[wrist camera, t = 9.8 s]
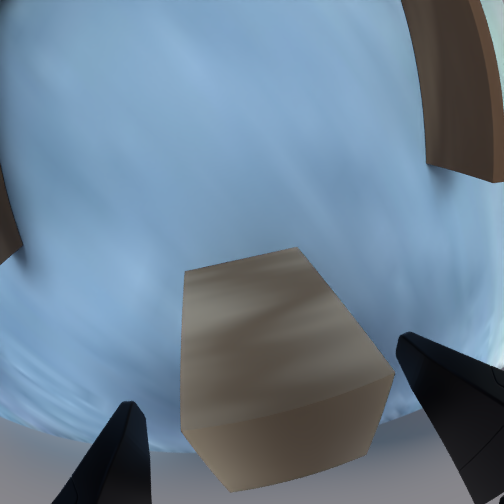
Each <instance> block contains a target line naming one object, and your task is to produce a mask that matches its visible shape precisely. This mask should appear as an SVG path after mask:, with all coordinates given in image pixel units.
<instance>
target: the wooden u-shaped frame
mask: <svg viewBox="0 0 504 504" xmlns="http://www.w3.org/2000/svg"><path fill="white" fill-rule="evenodd" d="M401 1H402V5H403V8H404V11H405V15H406V18H407V22H408V26H409V30H410V34H411V38H412V43H413V47H414V52H415V57H416V63H417V68H418V74H419V80H420V87H421V95H422V103H423V113H424V124H425V139H426V163H427V164H430V165H434V166H438V167H442V168H446V169H449V170H453V171H456V172H460V173H463V174H466V175H470V176H473V177H476V178H479V179H482V180H485V181H488V182H491V183H498V182H504V109H503V99H502V91H501V83H500V77H499V71H498V65H497V60H496V55H495V51H494V47H493V42H492V38H491V35H490V31H489V27H488V24H487V20H486V17H485V14H484V11H483V8H482V5H481V2H480V0H401ZM22 246H23V243H22V241H21V238H20V235H19V232H18V229H17V226H16V223H15V220H14V217H13V213H12V210H11V207H10V203H9V199H8V196H7V192H6V188H5V184H4V179H3V175H2V170H1V165H0V265H1V264H2V263H3V262H4V261H5V260H6V259H8V258H9V257H10V256H11V255H12V254H13V253H15V252H16V251H17V250H18V249H19V248H21V247H22Z"/></svg>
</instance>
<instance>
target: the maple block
mask: <svg viewBox="0 0 504 504" xmlns="http://www.w3.org/2000/svg"><path fill="white" fill-rule="evenodd" d="M394 375H395V371H394V370H393V369H392V367H391V366H390V365H389V363H388V362H387V360H386V359H385V358H384V356H383V355H382V354H381V352H380V351H379V350H378V348H377V347H376V346H375V344H374V343H373V342H372V341H371V339H370V338H369V337H368V335H367V334H366V333H365V331H364V330H363V329H362V327H361V326H360V325H359V324H358V322H357V321H356V320H355V318H354V317H353V316H352V315H351V313H350V312H349V311H348V309H347V308H346V307H345V306H344V304H343V303H342V302H341V301H340V299H339V298H338V297H337V295H336V294H335V293H334V292H333V290H332V289H331V288H330V287H329V285H328V284H327V283H326V282H325V280H324V279H323V278H322V277H321V275H320V274H319V273H318V272H317V271H316V269H315V268H314V267H313V266H312V264H311V263H310V262H309V261H308V260H307V258H306V257H305V256H304V255H303V253H302V252H301V251H300V250H299V249H298V247H294V248H289V249H285V250H280V251H276V252H271V253H267V254H262V255H258V256H253V257H249V258H244V259H240V260H235V261H230V262H226V263H221V264H217V265H212V266H208V267H203V268H198V269H194V270H189V271H185V275H184V290H183V308H182V330H181V365H180V417H181V432H182V433H183V435H184V436H185V438H186V439H187V440H188V442H189V443H190V444H191V446H192V447H193V448H194V450H195V451H196V452H197V454H198V455H199V456H200V457H201V459H202V460H203V461H204V462H205V464H206V465H207V466H208V467H209V469H210V470H211V471H212V472H213V473H214V475H215V476H216V477H217V478H218V479H219V481H220V482H221V483H222V484H223V485H224V486H225V487H226V488H227V490H228V491H229V492H237V491H243V490H248V489H254V488H260V487H265V486H269V485H274V484H278V483H282V482H287V481H290V480H294V479H298V478H302V477H305V476H308V475H312V474H315V473H318V472H321V471H325V470H328V469H330V468H333V467H336V466H339V465H342V464H344V463H347V462H350V461H352V460H355V459H357V458H360V457H362V456H365V455H366V454H367V452H368V450H369V447H370V445H371V442H372V440H373V437H374V435H375V432H376V430H377V427H378V424H379V422H380V419H381V416H382V413H383V410H384V407H385V404H386V401H387V398H388V395H389V392H390V389H391V385H392V382H393V379H394Z"/></svg>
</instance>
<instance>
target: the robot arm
mask: <svg viewBox="0 0 504 504" xmlns="http://www.w3.org/2000/svg"><path fill="white" fill-rule="evenodd" d="M396 357H397V360H398V362H399V364H400V366H401V368H402V370H403V372H404V374H405V376H406V378H407V380H408V383H409V385H410V387H411V389H412V391H413V392H414V394H415V396H416V397H417V399H418V401H419V402H420V404H421V406H422V407H423V409H424V411H425V412H426V414H427V416H428V417H429V419H430V421H431V423H432V424H433V426H434V428H435V429H436V431H437V433H438V435H439V436H440V438H441V440H442V442H443V443H444V445H445V447H446V449H447V451H448V453H449V454H450V456H451V458H452V460H453V462H454V464H455V466H456V468H457V469H458V471H459V474H460V476H461V477H462V479H463V481H464V483H465V485H466V487H467V489H468V491H469V493H470V495H471V497H472V499H473V501H474V503H475V504H485V503H487V502H489V501H491V500H492V499H494V498H495V497H497V496H499V495H500V494H502V493H503V492H504V371H503V370H501V369H498V368H496V367H493V366H490V365H488V364H486V363H484V362H481V361H479V360H476V359H474V358H472V357H469V356H467V355H464V354H462V353H460V352H457V351H455V350H453V349H450V348H448V347H446V346H443V345H441V344H438V343H436V342H434V341H431V340H429V339H427V338H424V337H422V336H420V335H417V334H415V333H413V332H406V333H404V334H402V335H400V336H399V339H398V343H397V348H396ZM150 475H151V472H150V453H149V444H148V436H147V426H146V418H145V416H144V414H143V412H142V411H141V410H140V408H139V407H138V406H137V404H136V403H135V402H134V401H124V402H122V403H121V404H120V405H119V407H118V408H117V410H116V411H115V413H114V414H113V415H112V417H111V418H110V420H109V421H108V423H107V424H106V426H105V427H104V429H103V430H102V431H101V433H100V434H99V436H98V437H97V439H96V440H95V442H94V443H93V445H92V446H91V448H90V449H89V450H88V452H87V454H86V455H85V456H84V458H83V459H82V461H81V462H80V464H79V465H78V467H77V468H76V470H75V471H74V473H73V474H72V477H70V479H69V480H68V482H67V483H66V485H65V486H64V487H63V489H62V490H61V492H60V493H59V494H58V496H57V497H56V498H55V500H54V501H53V502H52V504H152V500H151V476H150ZM499 504H504V495H503V496H502V497H501V498H500V502H499Z"/></svg>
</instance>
